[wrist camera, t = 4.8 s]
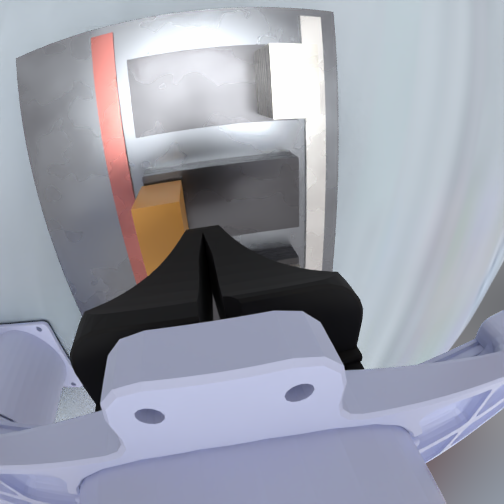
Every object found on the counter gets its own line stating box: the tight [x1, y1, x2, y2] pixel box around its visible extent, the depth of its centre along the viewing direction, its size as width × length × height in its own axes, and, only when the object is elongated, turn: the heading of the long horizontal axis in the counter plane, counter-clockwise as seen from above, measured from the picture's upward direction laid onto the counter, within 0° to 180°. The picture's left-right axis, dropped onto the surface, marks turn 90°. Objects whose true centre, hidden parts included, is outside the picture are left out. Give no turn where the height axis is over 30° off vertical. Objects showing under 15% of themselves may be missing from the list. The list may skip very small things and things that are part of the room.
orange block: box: [131, 180, 189, 276], centre depth 14 cm, size 2×3×3 cm, turn 4°
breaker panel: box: [16, 7, 338, 321], centre depth 17 cm, size 18×25×6 cm
